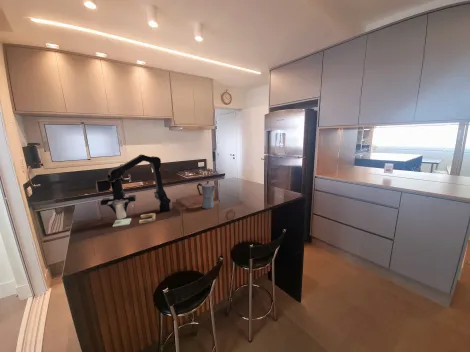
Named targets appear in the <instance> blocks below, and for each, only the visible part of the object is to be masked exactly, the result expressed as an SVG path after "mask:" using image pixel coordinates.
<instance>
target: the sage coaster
mask: <svg viewBox="0 0 470 352" xmlns="http://www.w3.org/2000/svg"><path fill="white" fill-rule="evenodd" d="M131 222H132V218H123V219H115V221H114V222H113V225H112V227H113V228H115V227H123V226H128V225H130V223H131Z"/></svg>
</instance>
